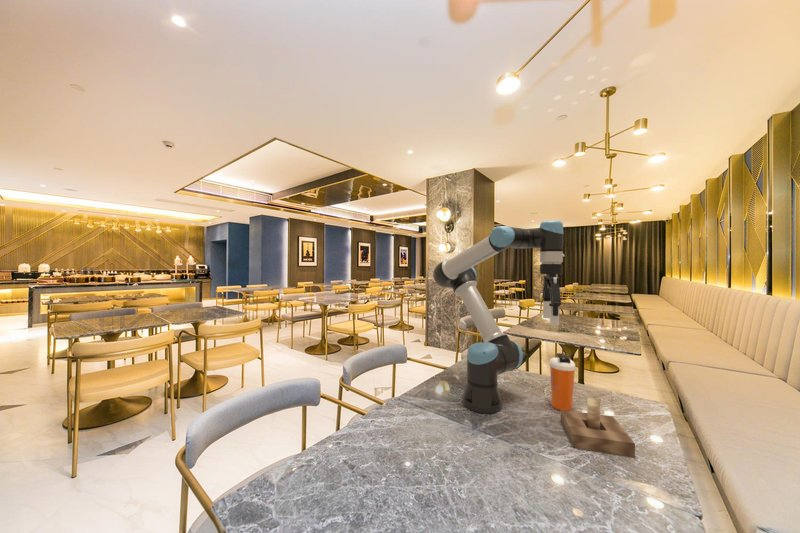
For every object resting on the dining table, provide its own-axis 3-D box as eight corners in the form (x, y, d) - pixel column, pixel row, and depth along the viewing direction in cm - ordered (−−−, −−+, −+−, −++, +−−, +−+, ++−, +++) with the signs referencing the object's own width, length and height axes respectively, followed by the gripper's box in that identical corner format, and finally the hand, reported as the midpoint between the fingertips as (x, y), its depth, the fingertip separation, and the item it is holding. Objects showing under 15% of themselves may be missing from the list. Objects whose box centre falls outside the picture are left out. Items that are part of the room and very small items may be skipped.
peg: (589, 439, 96) (589, 401, 95) (585, 433, 99) (586, 397, 99) (601, 441, 94) (602, 403, 94) (597, 435, 98) (598, 398, 98)
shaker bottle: (568, 402, 121) (569, 352, 121) (579, 413, 112) (580, 359, 112) (545, 400, 122) (546, 352, 122) (554, 411, 113) (555, 358, 113)
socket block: (572, 447, 91) (573, 434, 91) (560, 420, 106) (560, 409, 106) (634, 457, 87) (635, 443, 87) (612, 428, 102) (612, 416, 102)
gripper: (572, 263, 97) (571, 329, 97) (555, 263, 121) (554, 316, 121) (546, 263, 99) (545, 327, 99) (534, 263, 123) (534, 315, 123)
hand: (550, 321), depth 110 cm, fingers open, 13 cm apart
